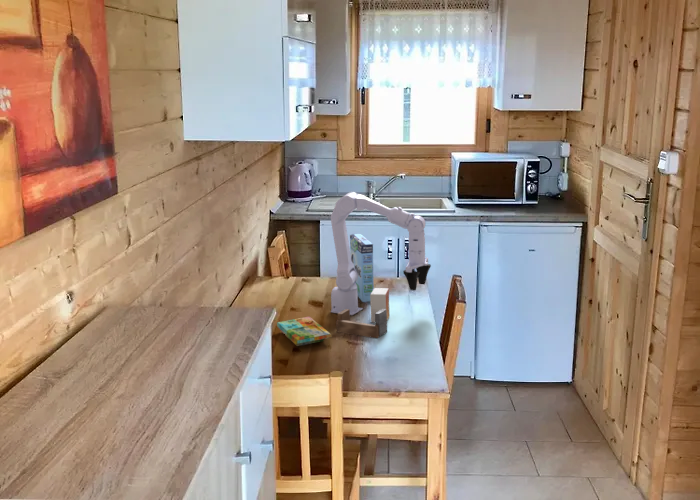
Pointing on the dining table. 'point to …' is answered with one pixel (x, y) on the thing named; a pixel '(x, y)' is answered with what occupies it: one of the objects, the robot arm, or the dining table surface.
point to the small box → (379, 301)
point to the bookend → (381, 321)
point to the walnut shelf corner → (355, 326)
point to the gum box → (362, 265)
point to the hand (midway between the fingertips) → (417, 286)
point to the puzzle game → (303, 331)
